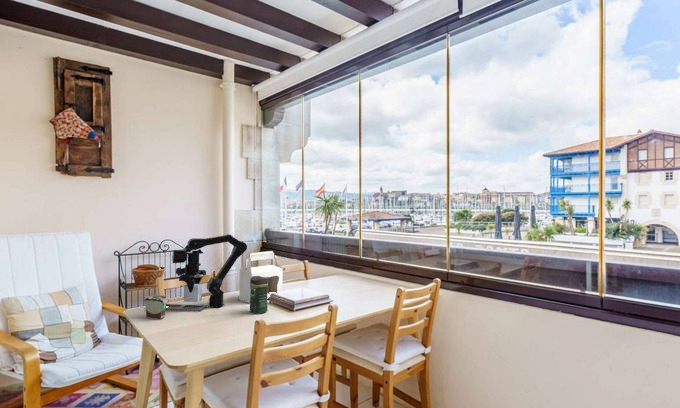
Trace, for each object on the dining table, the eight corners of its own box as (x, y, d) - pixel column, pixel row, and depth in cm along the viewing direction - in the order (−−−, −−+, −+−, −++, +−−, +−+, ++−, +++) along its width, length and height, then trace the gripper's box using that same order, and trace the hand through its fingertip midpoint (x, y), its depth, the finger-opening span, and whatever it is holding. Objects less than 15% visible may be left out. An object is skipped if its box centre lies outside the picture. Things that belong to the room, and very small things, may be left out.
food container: (173, 316, 181) (173, 296, 181) (163, 320, 175) (163, 299, 175) (153, 313, 185) (154, 294, 185) (143, 317, 179) (144, 297, 179)
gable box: (250, 304, 206) (251, 254, 206) (238, 299, 215) (239, 252, 215) (282, 297, 222) (283, 251, 222) (270, 293, 231) (270, 249, 231)
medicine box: (201, 300, 196) (202, 284, 196) (197, 302, 192) (198, 285, 192) (187, 299, 197) (188, 283, 197) (183, 301, 192) (183, 285, 192)
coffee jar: (269, 312, 190) (270, 276, 190) (256, 315, 185) (256, 278, 185) (260, 308, 197) (261, 274, 197) (247, 310, 192) (247, 275, 192)
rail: (207, 307, 198) (207, 305, 198) (200, 311, 190) (200, 309, 190) (164, 306, 200) (164, 303, 200) (156, 310, 192) (156, 307, 192)
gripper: (187, 259, 204) (187, 287, 204) (169, 264, 186) (168, 295, 186) (206, 259, 203) (206, 287, 203) (190, 265, 185) (189, 295, 185)
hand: (192, 291), depth 194 cm, fingers closed on medicine box, 4 cm apart
